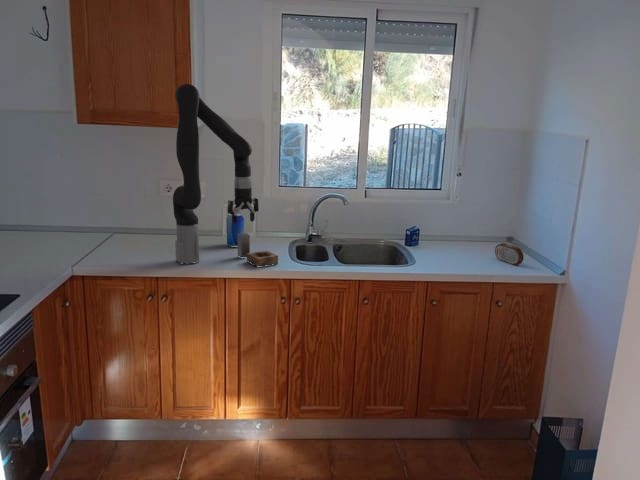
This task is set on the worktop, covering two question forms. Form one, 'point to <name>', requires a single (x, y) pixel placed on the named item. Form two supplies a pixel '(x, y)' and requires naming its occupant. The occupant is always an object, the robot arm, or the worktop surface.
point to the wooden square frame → (262, 258)
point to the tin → (509, 254)
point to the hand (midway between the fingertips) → (243, 222)
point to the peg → (243, 244)
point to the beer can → (234, 229)
